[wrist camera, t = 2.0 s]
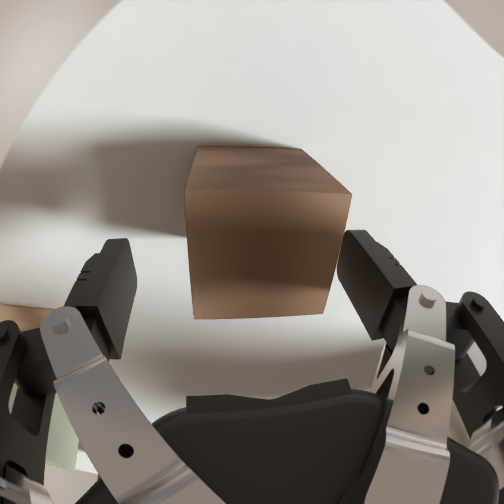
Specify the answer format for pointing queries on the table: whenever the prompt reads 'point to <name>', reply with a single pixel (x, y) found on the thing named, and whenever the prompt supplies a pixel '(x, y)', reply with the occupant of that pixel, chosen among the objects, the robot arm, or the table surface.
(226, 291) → the walnut block
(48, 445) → the sage block
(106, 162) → the table surface
